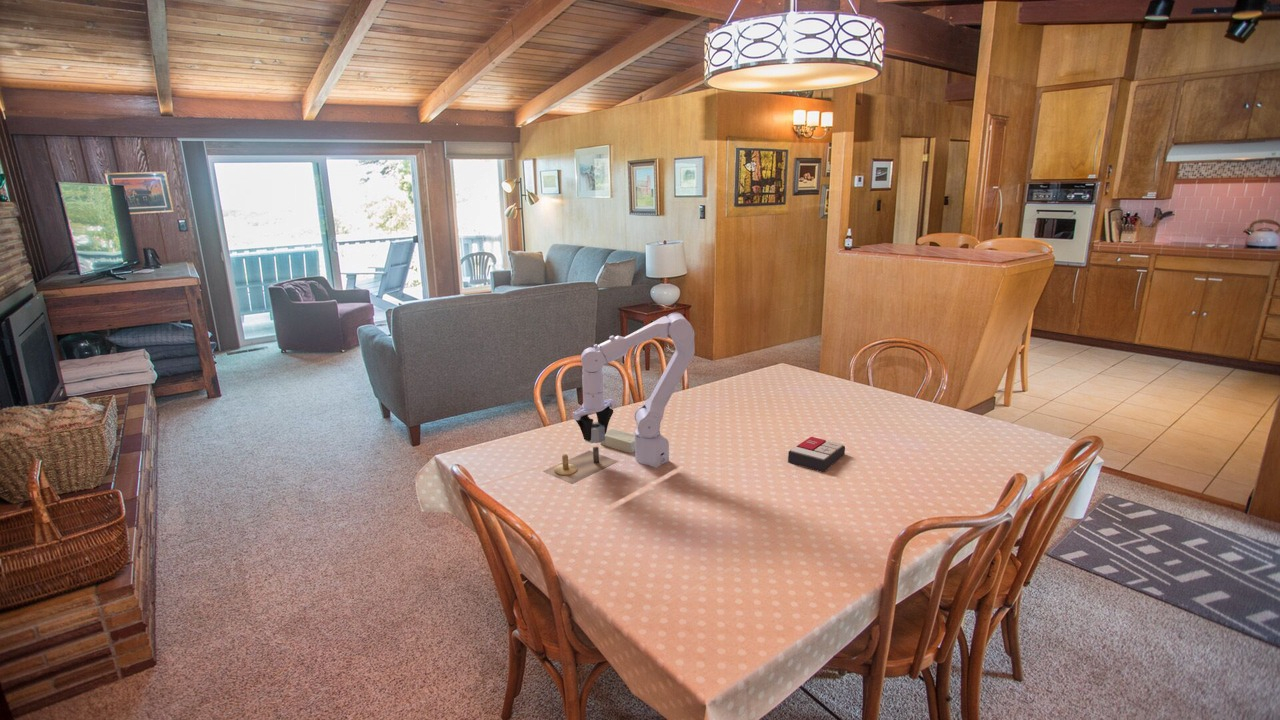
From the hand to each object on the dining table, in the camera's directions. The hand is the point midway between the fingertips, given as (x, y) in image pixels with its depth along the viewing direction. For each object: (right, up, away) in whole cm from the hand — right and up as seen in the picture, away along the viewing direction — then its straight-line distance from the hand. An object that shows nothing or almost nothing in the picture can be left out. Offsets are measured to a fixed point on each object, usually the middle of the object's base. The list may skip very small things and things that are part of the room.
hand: (595, 436), depth 176 cm
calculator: (+64, -7, +4) cm, 64 cm away
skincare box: (+2, -2, +17) cm, 17 cm away
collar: (0, -1, 0) cm, 1 cm away
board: (-4, -9, 0) cm, 10 cm away
